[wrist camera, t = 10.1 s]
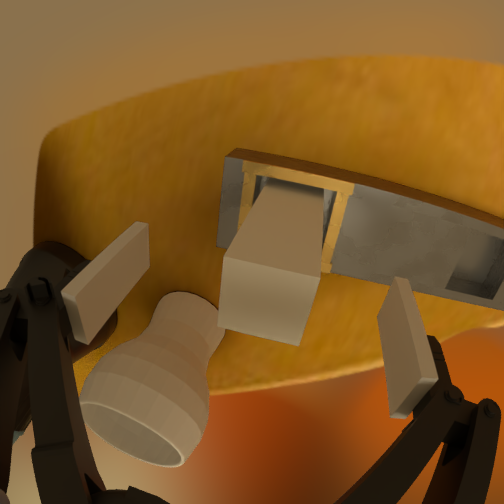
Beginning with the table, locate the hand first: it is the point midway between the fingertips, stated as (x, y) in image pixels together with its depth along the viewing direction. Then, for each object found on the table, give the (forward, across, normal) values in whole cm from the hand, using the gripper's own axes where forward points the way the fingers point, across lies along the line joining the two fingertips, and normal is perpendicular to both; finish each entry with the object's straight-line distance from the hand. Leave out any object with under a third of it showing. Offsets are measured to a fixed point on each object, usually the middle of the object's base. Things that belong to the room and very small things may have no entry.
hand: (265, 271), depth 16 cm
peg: (+9, +1, 0) cm, 9 cm away
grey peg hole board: (+10, +9, 0) cm, 13 cm away
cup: (+10, -7, -15) cm, 20 cm away
